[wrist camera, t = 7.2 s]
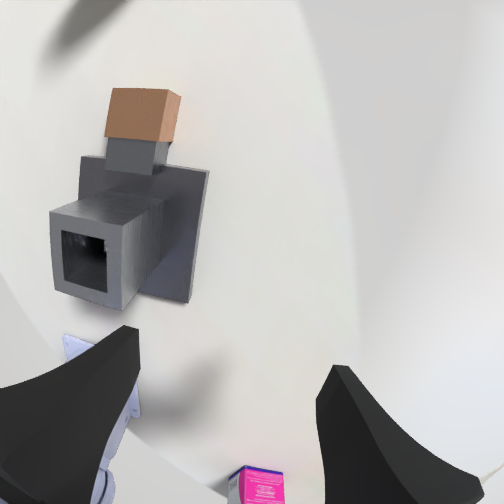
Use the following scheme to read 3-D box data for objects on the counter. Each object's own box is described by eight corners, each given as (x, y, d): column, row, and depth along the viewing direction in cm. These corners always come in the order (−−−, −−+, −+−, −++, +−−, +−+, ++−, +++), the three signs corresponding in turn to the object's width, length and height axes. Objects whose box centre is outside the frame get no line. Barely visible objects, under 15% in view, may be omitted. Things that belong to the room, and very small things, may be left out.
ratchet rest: (191, 296, 21) (179, 323, 17) (85, 270, 20) (62, 290, 17) (222, 101, 16) (213, 91, 13) (98, 93, 16) (70, 87, 12)
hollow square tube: (158, 264, 19) (122, 310, 13) (102, 251, 19) (54, 289, 13) (165, 199, 17) (122, 226, 12) (105, 190, 17) (49, 211, 12)
